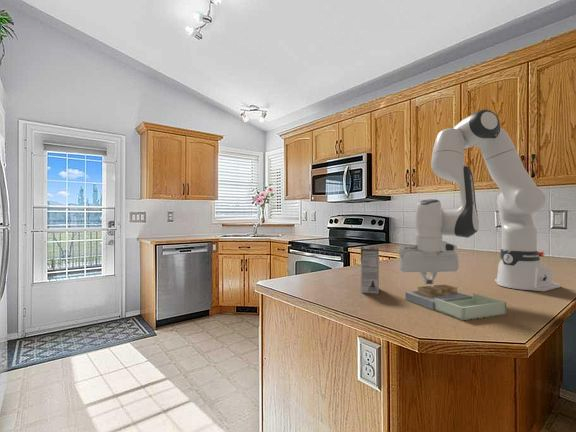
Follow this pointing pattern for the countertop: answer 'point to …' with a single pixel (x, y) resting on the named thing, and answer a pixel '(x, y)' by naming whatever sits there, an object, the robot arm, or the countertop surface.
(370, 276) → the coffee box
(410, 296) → the board
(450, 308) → the tray
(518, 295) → the countertop surface
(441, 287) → the tile
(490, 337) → the countertop surface
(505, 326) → the countertop surface
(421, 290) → the tile
